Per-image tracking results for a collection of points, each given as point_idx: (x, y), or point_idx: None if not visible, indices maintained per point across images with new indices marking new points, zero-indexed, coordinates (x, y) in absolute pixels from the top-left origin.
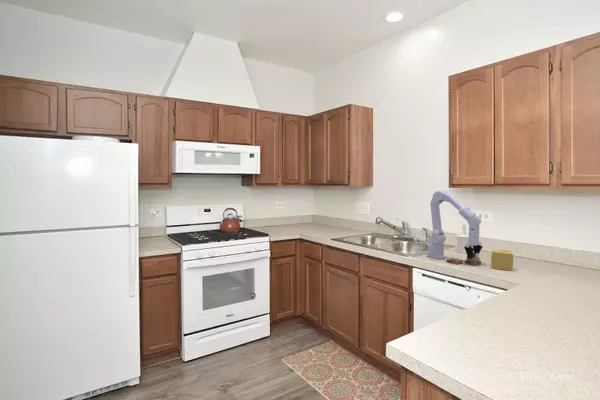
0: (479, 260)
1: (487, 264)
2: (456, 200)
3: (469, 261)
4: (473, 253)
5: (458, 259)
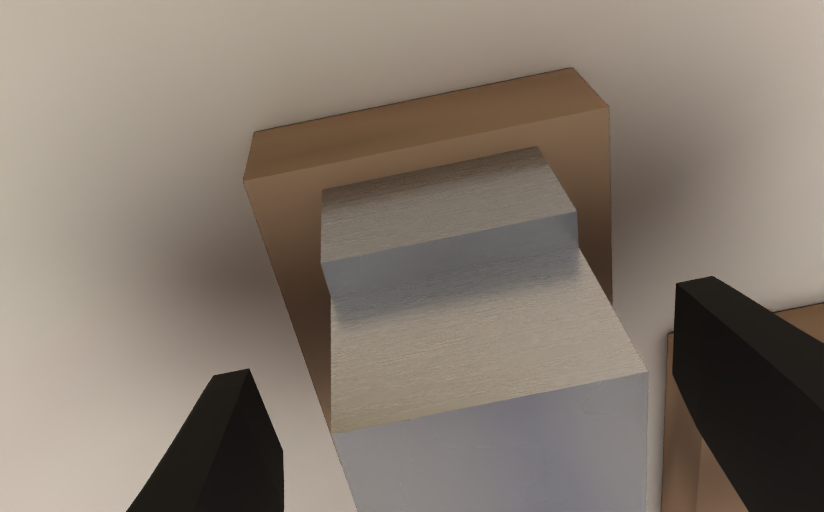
0: (322, 199)
1: (45, 35)
2: None
3: (608, 287)
4: (646, 442)
5: (715, 467)
